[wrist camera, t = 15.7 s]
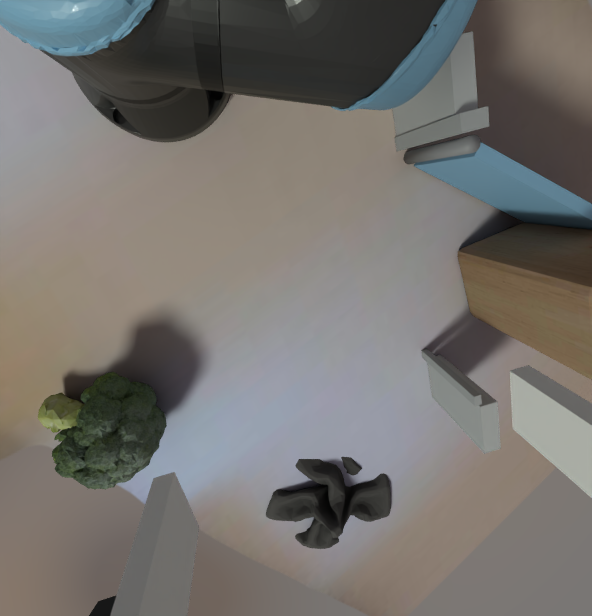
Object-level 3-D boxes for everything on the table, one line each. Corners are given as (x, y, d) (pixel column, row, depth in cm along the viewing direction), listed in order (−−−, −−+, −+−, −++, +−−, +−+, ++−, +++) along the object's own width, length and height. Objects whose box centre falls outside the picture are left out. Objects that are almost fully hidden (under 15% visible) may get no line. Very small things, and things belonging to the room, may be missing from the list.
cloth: (410, 493, 58) (429, 527, 52) (324, 560, 60) (333, 599, 54) (325, 412, 51) (335, 440, 45) (231, 490, 53) (229, 527, 47)
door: (401, 160, 41) (461, 148, 30) (414, 132, 40) (481, 107, 29) (571, 247, 47) (674, 264, 36) (585, 223, 47) (695, 233, 35)
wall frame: (383, 84, 39) (448, 33, 26) (407, 77, 39) (483, 24, 27) (428, 398, 52) (484, 461, 40) (446, 392, 52) (508, 454, 40)
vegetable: (42, 343, 40) (154, 381, 36) (110, 374, 51) (201, 406, 48) (-29, 454, 35) (90, 511, 32) (63, 462, 47) (159, 504, 43)
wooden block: (524, 219, 46) (720, 237, 27) (534, 288, 49) (716, 348, 30) (452, 249, 46) (599, 288, 27) (468, 316, 49) (608, 394, 30)
